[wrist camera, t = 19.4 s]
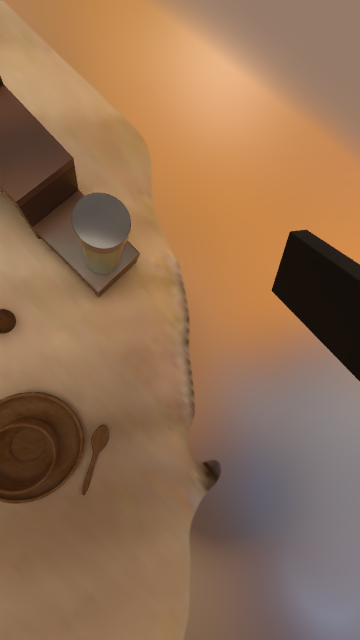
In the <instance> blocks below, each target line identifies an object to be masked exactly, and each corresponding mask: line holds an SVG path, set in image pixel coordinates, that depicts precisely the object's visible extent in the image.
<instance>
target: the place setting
mask: <svg viewBox="0 0 360 640" xmlns="http://www.w3.org/2000/svg"><path fill="white" fill-rule="evenodd" d="M15 323H16V319H15V316H14V315H13V313H11V312H10V311H8V310H5V309H0V333H7V332H9V331H11V330H12V329H13V328H14V326H15ZM107 441H108V429H107V427H106V426H104V425H102V426H100V427H99V428H98V429H97V430H96V431H95V433H94V434H93V437H92V448H93V457H92V460H91V464H90V467H89V469H88V472H87V475H86V478H85V481H84V485H83V490H82V495H85V493H86V491H87V489H88V486H89V483H90V480H91V476H92V472H93V468H94V464H95V461H96V458H97V455H98V453H99V452H100V451H101V450H102V449H103V447H104V446H105V445H106V443H107ZM82 448H83V433H82V428H81V425H80V422H79V420H78V418H77V416H76V414H75V413H74V412H73V410H72V409H71V408H70V407H69V406H68V405H67V404H65V403H64V402H63V401H61V400H60V399H58V398H56V397H53V396H51V395H47V394H43V393H32V392H30V393H21V394H16V395H13V396H10V397H7V398H5V399H3V400H1V401H0V501H1V502H6V503H15V504H17V503H27V502H32V501H35V500H39V499H41V498H43V497H46V496H48V495H49V494H51V493H53V492H54V491H56V490H57V489H58V488H60V487H61V486H62V485H63V484H64V483H65V482H66V481H67V480H68V479H69V478H70V476H71V475H72V473H73V472H74V470H75V469H76V467H77V465H78V463H79V460H80V457H81V453H82Z"/></svg>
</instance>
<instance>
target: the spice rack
mask: <svg viewBox="0 0 360 640" xmlns="http://www.w3.org/2000/svg"><path fill="white" fill-rule="evenodd" d="M0 189H1V190H2V191H3V192H4V193H5V194H6V195H7V196H8V197H9V198H10V199H11V200H12V201H13V202H14V203H15V204H16V206H17V207H18V209H19V211H20V212H21V214H22V215H23V217H24V218H25V220H26V221H27V223H28V224H29V226H30V227H31V229H32V231H33V232H34V234H35V235H36V236H37V237H38V238H39V239H40V238H42V239H43V240H44V241H45V242H46V243H47V244H48V245H49V246H50V247H51V248H52V249H53V250H54V251H55V252H56V253H57V254H58V255H59V256H60V257H61V258H62V259H63V260H64V261H65V262H66V263H67V264H68V265H69V266H70V267H71V268H72V269H73V270H74V271H75V272H76V273H77V274H78V275H79V276H80V277H81V278H83V279H84V280H85V281H86V282H87V283H88V284H89V285H90V286H91V287H92V288H93V289H94V290H95V294H96V295H97V296H98V297H100V296H101V295H102V294H103V293H104V292H105V291H106V290H107V289H108V288H109V287H110V286H111V285H112V284H113V283H115V282H116V281H117V280H118V279H119V278H120V277H121V276H122V275H123V274H124V273H125V272H126V271H127V270H128V269H130V268H131V267H132V266H133V265H134V264H135V263H136V261H137V259H138V257H139V255H140V253H139V252H138V251H137V250H136V249H135V248H134V247H133V246H132V245H131V244H130V243H129V242H128V241H127V242H126V246H125V250H124V254H123V257H122V261H121V264H120V265H119V267H118V268H117V269H116V270H115V271H113V272H111V273H108V274H97V273H94V272H92V271H90V270H89V269H88V268H87V267H86V266H85V265H84V263H83V261H82V258H81V254H80V251H79V247H78V243H77V239H76V236H75V233H74V230H73V226H72V219H71V218H72V211H73V209H74V206H75V205H76V203H77V202H78V201H79V200H80V199H81V198H83V197H84V195H83V194H82V193H81V192H80V191H79V190H78V185H77V178H76V172H75V166H74V159H73V157H72V156H71V155H70V154H69V153H68V152H67V151H66V150H65V149H64V148H63V147H62V146H61V144H60V143H59V142H58V141H57V140H56V139H55V138H54V137H53V136H52V135H51V134H50V133H49V132H48V131H47V130H46V129H45V128H44V127H43V125H42V124H41V123H40V122H39V121H38V120H37V119H36V118H35V117H34V116H33V115H32V114H31V113H30V112H29V111H28V110H27V109H26V108H25V106H24V105H23V104H22V103H21V102H20V101H19V100H18V99H17V98H16V97H15V96H14V95H13V94H12V93H11V92H10V91H9V90H8V89H7V87H6V86H5V85H4V84H3V82H2V79H1V76H0Z"/></svg>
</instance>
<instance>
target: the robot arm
mask: <svg viewBox="0 0 360 640" xmlns="http://www.w3.org/2000/svg"><path fill="white" fill-rule="evenodd" d="M272 292H273V293H274V294H275V295H277V297H278V298H279V299H280V300H281V301H282V302H283V303H284V304H285V305H286V306H287V307H288V308H289V309H290V310H291V311H292V312H293V313H294V314H295V315H296V316H297V317H298V318H299V319H300V320H301V321H302V322H303V323H304V324H305V325H306V327H308V328H309V330H310V331H311V332H312V333H313V334H314V335H315V336H316V337H317V338H318V339H319V340H320V341H321V342H322V343H323V344H324V345H325V346H326V347H327V348H328V349H329V350H330V351H331V352H332V353H333V354H334V355H335V356H336V357H337V358H338V359H339V360H340V362H342V364H343V365H344V366H345V367H346V368H347V369H348V370H349V371H350V372H351V373H352V374H353V375H354V376H355V377H356V378H357V379H358V380H359V381H360V265H359V264H358V263H356V262H355V261H353V260H352V259H350V258H349V257H347V256H346V255H344V254H342V253H341V252H340V251H338V250H336V249H335V248H334V247H332V246H330V245H329V244H327V243H326V242H324V241H323V240H321V239H320V238H318V237H317V236H315V235H313V234H312V233H311V232H309V231H308V230H300V231H291V232H290V233H289V237H288V240H287V243H286V246H285V249H284V253H283V256H282V259H281V262H280V265H279V269H278V272H277V275H276V278H275V281H274V285H273V288H272Z"/></svg>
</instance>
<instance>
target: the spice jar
mask: <svg viewBox="0 0 360 640" xmlns="http://www.w3.org/2000/svg"><path fill="white" fill-rule="evenodd" d="M71 219H72V226H73V230H74V233H75V236H76V239H77V243H78V247H79V251H80V254H81V258H82V261H83V263H84V265H85V266H86V267H87V268H88V269H89V270H90V271H92V272H94V273H97V274H108V273H111V272H113V271H115V270H116V269H117V268H118V267H119V265H120V264H121V261H122V257H123V254H124V250H125V246H126V242H127V239H128V236H129V233H130V228H131V219H130V215H129V212H128V210H127V209H126V207H125V206H124V204H123V203H122V202H121V201H120V200H118V199H117V198H115V197H113V196H111V195H109V194H105V193H92V194H89V195H86V196H84V197H83V198H81V199H80V200H79V201H78V202H77V203H76V205H75V206H74V209H73V211H72V218H71Z"/></svg>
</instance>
